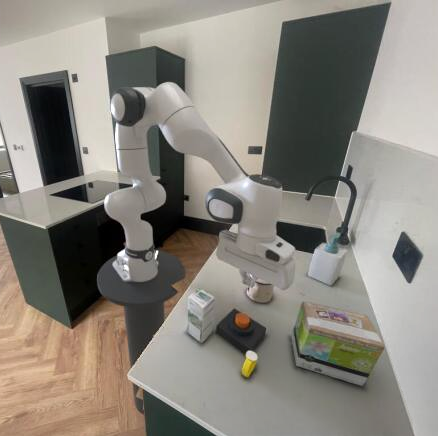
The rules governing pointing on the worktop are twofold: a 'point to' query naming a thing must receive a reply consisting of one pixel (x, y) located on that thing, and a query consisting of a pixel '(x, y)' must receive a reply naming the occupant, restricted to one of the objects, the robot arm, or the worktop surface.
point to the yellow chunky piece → (249, 363)
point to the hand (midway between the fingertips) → (248, 284)
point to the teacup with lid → (260, 291)
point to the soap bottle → (327, 261)
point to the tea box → (335, 342)
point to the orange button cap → (242, 320)
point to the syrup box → (200, 314)
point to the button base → (240, 332)
